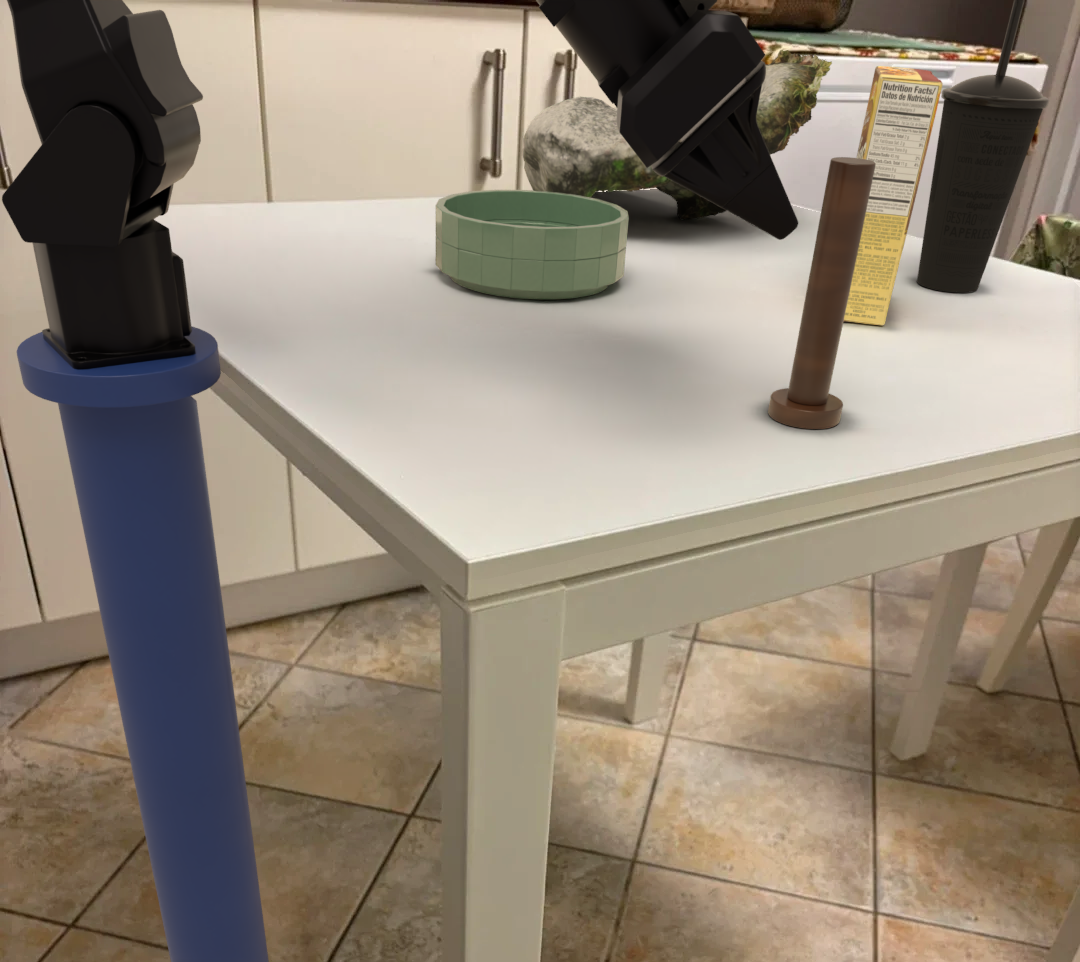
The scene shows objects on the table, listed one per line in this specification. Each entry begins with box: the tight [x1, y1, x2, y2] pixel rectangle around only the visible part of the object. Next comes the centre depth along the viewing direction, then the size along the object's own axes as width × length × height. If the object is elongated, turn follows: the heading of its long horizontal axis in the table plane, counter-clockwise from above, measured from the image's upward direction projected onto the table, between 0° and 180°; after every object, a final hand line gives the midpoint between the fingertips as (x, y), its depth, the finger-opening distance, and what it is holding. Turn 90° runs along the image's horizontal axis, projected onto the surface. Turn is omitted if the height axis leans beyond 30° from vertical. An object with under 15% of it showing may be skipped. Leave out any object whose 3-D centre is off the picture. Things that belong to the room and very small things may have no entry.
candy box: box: [843, 65, 944, 326], centre depth 78 cm, size 9×4×15 cm, turn 168°
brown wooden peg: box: [767, 156, 876, 430], centre depth 58 cm, size 4×4×13 cm
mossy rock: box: [521, 49, 833, 221], centre depth 104 cm, size 29×30×15 cm
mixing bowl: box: [435, 189, 630, 301], centre depth 83 cm, size 14×14×5 cm
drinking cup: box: [916, 0, 1050, 294], centre depth 84 cm, size 8×8×20 cm
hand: (774, 213), depth 56 cm, fingers open, 9 cm apart
